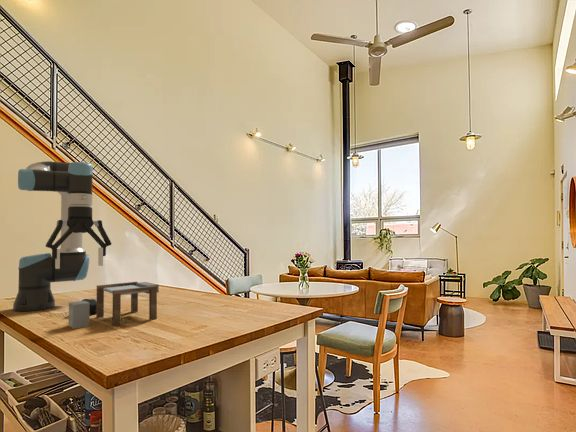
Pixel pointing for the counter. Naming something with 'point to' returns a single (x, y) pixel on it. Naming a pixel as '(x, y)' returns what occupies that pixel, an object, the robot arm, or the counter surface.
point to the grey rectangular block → (79, 314)
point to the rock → (91, 305)
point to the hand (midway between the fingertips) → (79, 267)
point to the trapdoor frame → (117, 300)
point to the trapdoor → (138, 285)
